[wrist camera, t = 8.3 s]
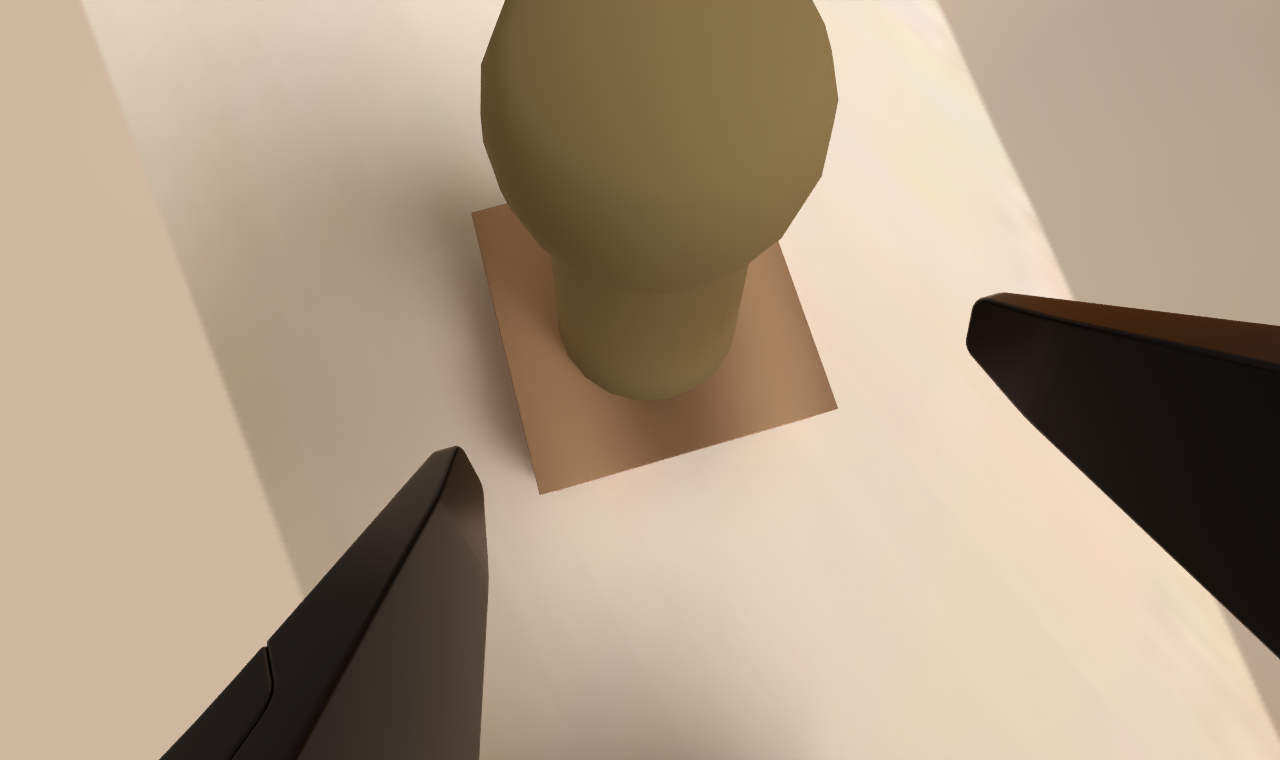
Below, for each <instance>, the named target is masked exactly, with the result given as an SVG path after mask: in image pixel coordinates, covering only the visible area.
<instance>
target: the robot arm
mask: <svg viewBox="0 0 1280 760" xmlns="http://www.w3.org/2000/svg"><path fill="white" fill-rule="evenodd" d="M966 346H967V349H968V351H969V353H970V355H971V356H972V357H973V358H974V359H975V361H976V362H977V363H978V364H979V365H980V366H981V367H982V369H983V370H984V371H985V372H986V373H987V374H988V376H989V377H990V378H991V379H992V380H993V381H994V383H995V384H996V385H997V386H998V387H999V388H1000V389H1001V391H1002V392H1003V393H1004V394H1005V395H1006V396H1007V398H1008V399H1009V400H1010V401H1011V402H1012V403H1013V405H1014V406H1015V407H1016V408H1017V409H1018V410H1019V411H1020V412H1021V413H1022V415H1023V416H1024V417H1025V418H1026V419H1027V420H1028V421H1029V422H1030V423H1031V424H1032V425H1033V426H1034V427H1035V428H1036V429H1037V430H1038V431H1039V432H1040V433H1041V434H1043V435H1044V436H1045V437H1046V438H1047V439H1048V440H1049V441H1050V442H1051V443H1052V444H1053V445H1054V446H1055V447H1056V448H1057V449H1058V450H1059V451H1060V452H1062V453H1063V454H1064V455H1065V456H1066V457H1067V458H1068V459H1069V460H1070V461H1071V462H1072V463H1073V464H1074V465H1075V466H1076V467H1077V468H1078V469H1079V470H1080V471H1082V472H1083V473H1084V474H1085V475H1086V476H1087V477H1088V478H1089V479H1090V480H1091V481H1092V482H1093V483H1094V484H1095V485H1096V486H1097V487H1098V488H1099V489H1101V490H1102V491H1103V492H1104V493H1105V494H1106V495H1107V496H1108V497H1109V498H1110V499H1111V500H1112V501H1113V502H1114V503H1115V504H1116V505H1117V506H1118V507H1120V508H1121V509H1122V510H1123V511H1124V512H1125V513H1126V514H1127V515H1128V516H1129V517H1130V518H1131V519H1132V520H1133V521H1134V522H1135V523H1136V524H1137V525H1138V526H1140V527H1141V528H1142V529H1143V530H1144V531H1145V532H1146V533H1147V534H1148V535H1149V536H1150V537H1151V538H1152V539H1153V540H1154V541H1155V542H1156V543H1157V544H1159V545H1160V546H1161V547H1162V548H1163V549H1164V550H1165V551H1166V552H1167V553H1168V554H1169V555H1170V556H1171V557H1172V558H1173V559H1174V560H1175V561H1176V562H1177V563H1179V564H1180V565H1181V566H1182V567H1183V568H1184V569H1185V570H1186V571H1187V572H1188V573H1189V574H1190V575H1191V576H1192V577H1193V578H1194V579H1195V580H1196V581H1198V582H1199V583H1200V584H1201V585H1202V586H1203V587H1204V588H1205V589H1206V590H1207V591H1208V592H1209V593H1210V594H1211V595H1212V596H1213V597H1214V598H1215V599H1217V600H1218V601H1219V602H1220V603H1221V604H1222V605H1223V606H1224V607H1225V608H1226V609H1227V610H1228V611H1229V612H1230V613H1232V615H1233V616H1234V617H1235V618H1237V619H1238V620H1239V621H1240V622H1241V623H1242V624H1243V625H1244V626H1245V627H1246V628H1247V629H1248V630H1249V631H1250V632H1251V633H1252V634H1253V635H1254V636H1256V637H1257V638H1258V639H1259V640H1260V641H1261V642H1262V643H1263V644H1264V645H1265V646H1266V647H1267V648H1268V649H1269V650H1270V651H1272V653H1273V654H1275V655H1276V656H1277V657H1278V658H1279V659H1280V326H1275V325H1267V324H1259V323H1250V322H1242V321H1233V320H1226V319H1217V318H1210V317H1201V316H1193V315H1185V314H1177V313H1169V312H1160V311H1152V310H1144V309H1136V308H1127V307H1120V306H1111V305H1103V304H1095V303H1087V302H1079V301H1070V300H1062V299H1054V298H1046V297H1038V296H1029V295H1021V294H1013V293H997V294H994V295H990V296H987V297H983V298H980V299H979V300H977V301H976V302H975V304H974V305H973V308H972V312H971V317H970V322H969V327H968V332H967V337H966ZM488 582H489V573H488V554H487V539H486V524H485V509H484V495H483V488H482V485H481V482H480V480H479V478H478V476H477V474H476V472H475V470H474V468H473V467H472V465H471V463H470V461H469V459H468V457H467V455H466V454H465V452H464V450H463V449H462V448H461V447H458V446H454V447H450V448H446V449H443V450H439V451H436V452H434V453H433V454H432V455H431V456H430V457H429V458H428V459H427V460H426V461H425V462H424V464H423V465H422V466H421V467H420V468H419V469H418V470H417V472H416V473H415V474H414V475H413V476H412V477H411V478H410V480H409V481H408V482H407V483H406V484H405V485H404V486H403V488H402V489H401V490H400V491H399V492H398V493H397V494H396V495H395V497H394V498H393V499H392V500H391V501H390V502H389V503H388V505H387V506H386V507H385V508H384V509H383V510H382V511H381V513H380V514H379V515H378V516H377V517H376V518H375V519H374V521H373V522H372V523H371V524H370V525H369V526H368V527H367V528H366V530H365V531H364V532H363V533H362V534H361V535H360V536H359V538H358V539H357V540H356V541H355V542H354V543H353V544H352V546H351V547H350V548H349V549H348V550H347V551H346V552H345V554H344V555H343V556H342V557H341V558H340V559H339V560H338V561H337V563H336V564H335V565H334V566H333V567H332V568H331V569H330V571H329V572H328V573H327V574H326V575H325V576H324V577H323V579H322V580H321V581H320V582H319V583H318V584H317V585H316V586H315V588H314V589H313V590H312V591H311V592H310V593H309V594H308V596H307V597H306V598H305V599H304V600H303V601H302V602H301V604H300V605H299V606H298V607H297V608H296V609H295V610H294V612H293V613H292V614H291V615H290V616H289V617H288V618H287V619H286V621H285V622H284V623H283V624H282V625H281V626H280V627H279V629H278V630H277V631H276V632H275V633H274V634H273V635H272V637H271V638H270V639H269V640H268V642H267V647H262V648H261V649H260V650H259V651H258V652H257V653H256V655H255V656H254V657H253V658H252V659H251V660H250V661H249V663H248V664H247V665H246V666H245V667H244V668H243V669H242V670H241V672H240V673H239V674H238V675H237V676H236V677H235V678H234V680H233V681H232V682H231V683H230V684H229V685H228V686H227V687H226V688H225V690H224V691H223V692H222V693H221V694H220V695H219V696H218V697H217V699H215V700H214V702H213V703H212V704H211V705H210V706H209V707H208V708H207V709H206V710H205V712H204V713H203V714H202V715H201V716H200V717H199V718H198V719H197V720H196V722H195V723H194V724H193V725H192V726H191V727H190V728H189V729H188V730H187V731H186V732H185V733H184V734H183V735H182V736H181V737H180V738H179V739H178V740H177V742H176V743H175V744H174V745H173V746H172V747H171V748H170V749H169V750H168V751H167V752H166V753H165V754H164V755H163V756H162V757H161V758H160V759H159V760H479V751H480V733H481V714H482V696H483V678H484V660H485V642H486V624H487V605H488Z"/></svg>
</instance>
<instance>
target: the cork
mask: <svg viewBox="0 0 1280 760" xmlns="http://www.w3.org/2000/svg"><path fill="white" fill-rule="evenodd" d="M837 103H838V94H837V86H836V79H835V72H834V64H833V57H832V50H831V46H830V42H829V39H828V35H827V31H826V27H825V24H824V22H823V20H822V18H821V16H820V14H819V12H818V10H817V8H816V6H815V5H814V3H813V1H812V0H505V2H504V5H503V7H502V10H501V13H500V15H499V18H498V20H497V23H496V26H495V28H494V31H493V34H492V36H491V39H490V42H489V44H488V47H487V50H486V53H485V55H484V58H483V61H482V64H481V113H480V114H481V124H482V134H483V142H484V145H485V148H486V151H487V154H488V157H489V159H490V162H491V165H492V168H493V171H494V173H495V176H496V179H497V182H498V185H499V187H500V190H501V192H502V194H503V196H504V198H505V199H506V201H507V203H508V205H509V207H510V209H511V211H512V212H513V213H514V214H515V216H516V217H517V218H518V219H519V221H520V222H521V223H522V224H523V225H524V227H525V228H526V229H527V230H528V232H529V233H530V234H531V235H532V236H533V238H534V239H535V240H536V241H537V243H538V244H539V245H540V246H541V247H542V249H544V250H545V251H546V252H548V253H549V254H550V255H551V260H552V269H553V278H554V288H555V297H556V306H557V315H558V325H559V331H560V334H561V337H562V339H563V342H564V345H565V348H566V351H567V353H568V356H569V357H570V358H571V360H572V361H573V362H574V363H575V365H576V366H577V367H578V368H579V370H580V371H581V372H582V373H583V375H584V376H585V377H586V378H587V379H589V380H590V381H592V382H593V383H595V384H596V385H598V386H599V387H601V388H603V389H604V390H606V391H607V392H609V393H611V394H615V395H618V396H622V397H626V398H629V399H633V400H637V401H641V400H663V399H669V398H671V397H674V396H677V395H679V394H682V393H685V392H687V391H690V390H693V389H694V388H696V387H697V386H698V385H699V384H701V383H702V382H703V381H704V380H706V379H707V378H708V377H709V376H710V375H712V374H713V373H714V372H715V371H716V370H717V368H718V367H719V365H720V364H721V362H722V361H723V359H724V357H725V356H726V354H727V353H728V351H729V350H730V348H731V344H732V340H733V336H734V332H735V328H736V324H737V319H738V314H739V309H740V304H741V300H742V295H743V290H744V285H745V280H746V275H747V270H748V266H749V263H750V262H751V261H753V260H754V259H755V258H756V257H758V256H759V255H760V254H762V253H763V252H764V251H765V250H767V249H768V248H769V247H771V246H772V245H773V244H774V243H776V242H777V241H778V240H780V239H781V238H782V236H783V235H784V233H785V232H786V230H787V229H788V227H789V225H790V224H791V222H792V221H793V219H794V218H795V216H796V215H797V213H798V212H799V210H800V209H801V207H802V205H803V204H804V202H805V201H806V199H807V198H808V196H809V195H810V193H811V192H812V190H813V189H814V187H815V185H816V184H817V182H818V181H819V179H820V178H821V176H822V172H823V168H824V163H825V159H826V155H827V150H828V146H829V141H830V137H831V133H832V128H833V123H834V118H835V113H836V108H837Z"/></svg>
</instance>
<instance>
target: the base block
mask: <svg viewBox="0 0 1280 760" xmlns="http://www.w3.org/2000/svg"><path fill="white" fill-rule="evenodd" d="M471 214H472V218H473V222H474V226H475V230H476V234H477V238H478V243H479V247H480V251H481V255H482V259H483V263H484V267H485V271H486V275H487V280H488V284H489V288H490V292H491V296H492V300H493V304H494V308H495V313H496V317H497V321H498V325H499V329H500V333H501V337H502V341H503V345H504V350H505V354H506V358H507V362H508V366H509V370H510V374H511V378H512V382H513V387H514V391H515V395H516V399H517V403H518V407H519V411H520V415H521V420H522V424H523V428H524V432H525V436H526V440H527V444H528V448H529V452H530V457H531V461H532V465H533V469H534V473H535V477H536V481H537V485H538V490H539V494H540V495H541V494H545V493H549V492H553V491H557V490H560V489H564V488H567V487H571V486H574V485H577V484H581V483H584V482H588V481H591V480H595V479H598V478H602V477H605V476H609V475H612V474H615V473H619V472H622V471H626V470H629V469H633V468H636V467H640V466H643V465H647V464H650V463H653V462H657V461H660V460H664V459H667V458H671V457H674V456H678V455H681V454H685V453H688V452H692V451H695V450H698V449H702V448H705V447H709V446H712V445H716V444H719V443H723V442H726V441H730V440H733V439H736V438H740V437H743V436H747V435H750V434H754V433H757V432H761V431H764V430H768V429H771V428H774V427H778V426H781V425H785V424H788V423H792V422H795V421H799V420H802V419H806V418H809V417H812V416H815V415H819V414H822V413H825V412H828V411H832V410H835V409H838V407H837V404H836V401H835V398H834V396H833V393H832V390H831V387H830V384H829V382H828V379H827V376H826V373H825V371H824V368H823V365H822V362H821V359H820V357H819V354H818V351H817V348H816V345H815V343H814V340H813V337H812V334H811V331H810V329H809V326H808V323H807V320H806V318H805V315H804V312H803V309H802V306H801V304H800V301H799V298H798V295H797V292H796V290H795V287H794V284H793V281H792V278H791V276H790V273H789V270H788V267H787V264H786V262H785V259H784V256H783V253H782V251H781V248H780V245H779V242H778V241H777V242H776V243H774V244H773V245H772V246H771V247H769V248H768V249H767V250H765V251H764V252H763V253H762V254H760V255H759V256H758V257H756V258H755V259H754V260H753V261H751V262H750V263H749V266H748V270H747V275H746V280H745V285H744V290H743V295H742V300H741V304H740V309H739V314H738V319H737V324H736V328H735V332H734V336H733V340H732V344H731V348H730V350H729V351H728V353H727V354H726V356H725V357H724V359H723V361H722V362H721V364H720V365H719V367H718V368H717V370H716V371H715V372H714V373H713V374H712V375H710V376H709V377H708V378H707V379H706V380H704V381H703V382H702V383H701V384H699V385H698V386H697V387H696V388H694V389H693V390H690V391H687V392H685V393H682V394H679V395H677V396H674V397H671V398H669V399H663V400H641V401H637V400H633V399H629V398H626V397H622V396H618V395H615V394H611V393H609V392H607V391H606V390H604V389H603V388H601V387H599V386H598V385H596V384H595V383H593V382H592V381H590V380H589V379H587V378H586V377H585V376H584V375H583V373H582V372H581V371H580V370H579V368H578V367H577V366H576V365H575V363H574V362H573V361H572V360H571V358H570V357H569V356H568V353H567V351H566V348H565V345H564V342H563V339H562V337H561V334H560V331H559V325H558V315H557V306H556V297H555V288H554V278H553V269H552V260H551V255H550V254H549V253H548V252H546V251H545V250H544V249H542V247H541V246H540V245H539V244H538V243H537V241H536V240H535V239H534V238H533V236H532V235H531V234H530V233H529V232H528V230H527V229H526V228H525V227H524V225H523V224H522V223H521V222H520V221H519V219H518V218H517V217H516V216H515V214H514V213H513V212H512V211H511V209H510V207H509V205H508V204H504V205H500V206H497V207H493V208H489V209H485V210H481V211H477V212H473V213H471Z"/></svg>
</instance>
